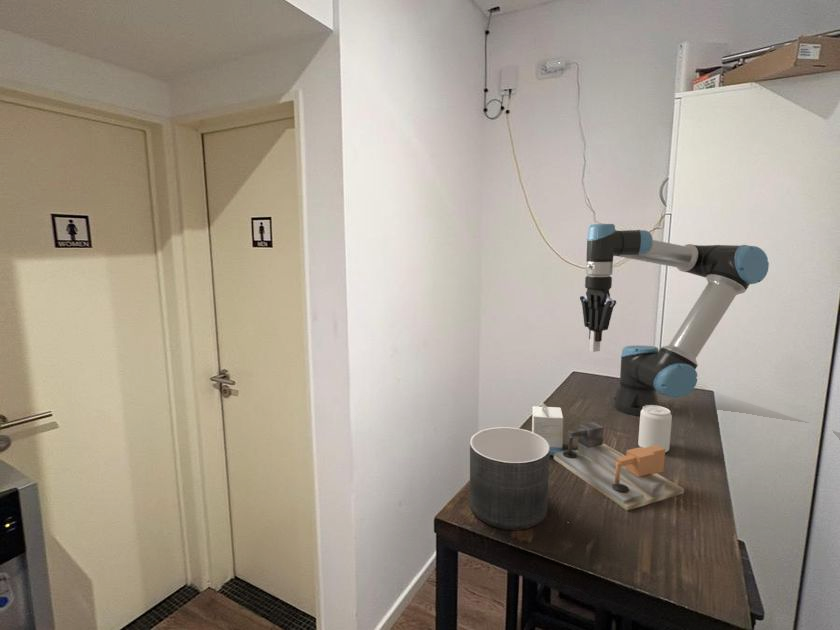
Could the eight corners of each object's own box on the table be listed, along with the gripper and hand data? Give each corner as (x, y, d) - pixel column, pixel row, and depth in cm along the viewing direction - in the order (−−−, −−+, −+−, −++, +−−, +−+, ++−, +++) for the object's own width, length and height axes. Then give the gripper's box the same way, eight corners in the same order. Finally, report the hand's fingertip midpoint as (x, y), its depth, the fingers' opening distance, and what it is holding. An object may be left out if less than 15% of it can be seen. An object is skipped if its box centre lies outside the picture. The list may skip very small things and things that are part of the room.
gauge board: (603, 447, 131) (605, 417, 130) (683, 493, 107) (686, 457, 106) (553, 459, 125) (555, 427, 123) (626, 510, 101) (629, 472, 99)
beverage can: (634, 448, 130) (637, 410, 128) (643, 439, 136) (645, 402, 134) (664, 457, 125) (668, 417, 123) (672, 447, 131) (675, 409, 129)
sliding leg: (652, 467, 114) (654, 443, 113) (666, 475, 110) (668, 450, 109) (609, 479, 109) (610, 454, 108) (622, 487, 105) (623, 461, 104)
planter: (466, 485, 113) (467, 427, 110) (537, 485, 112) (539, 426, 109) (473, 530, 95) (473, 463, 92) (556, 531, 94) (559, 463, 92)
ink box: (562, 457, 126) (564, 412, 124) (532, 454, 128) (533, 410, 126) (559, 443, 134) (561, 401, 132) (531, 441, 136) (532, 399, 134)
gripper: (574, 274, 139) (570, 347, 143) (605, 277, 127) (600, 357, 131) (592, 273, 142) (589, 345, 146) (625, 276, 130) (620, 354, 134)
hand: (594, 350), depth 139 cm, fingers closed
